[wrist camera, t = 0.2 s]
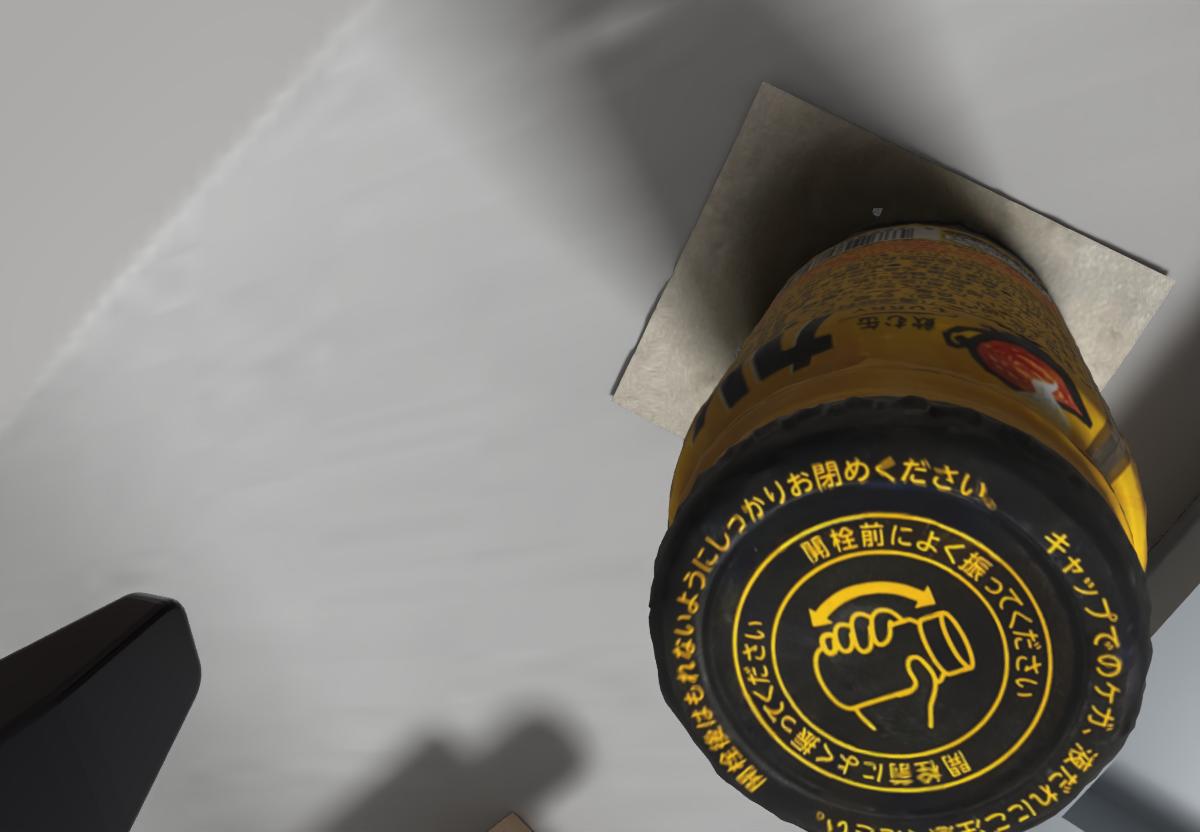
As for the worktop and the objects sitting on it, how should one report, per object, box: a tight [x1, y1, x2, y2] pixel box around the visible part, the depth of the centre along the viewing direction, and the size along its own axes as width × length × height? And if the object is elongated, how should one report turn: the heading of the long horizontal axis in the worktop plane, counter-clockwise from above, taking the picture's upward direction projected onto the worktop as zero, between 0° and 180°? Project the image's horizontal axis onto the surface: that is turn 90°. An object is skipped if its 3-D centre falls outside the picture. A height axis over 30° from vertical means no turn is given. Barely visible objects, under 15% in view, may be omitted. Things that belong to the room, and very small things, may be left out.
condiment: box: [612, 81, 1176, 832], centre depth 17 cm, size 7×8×12 cm
